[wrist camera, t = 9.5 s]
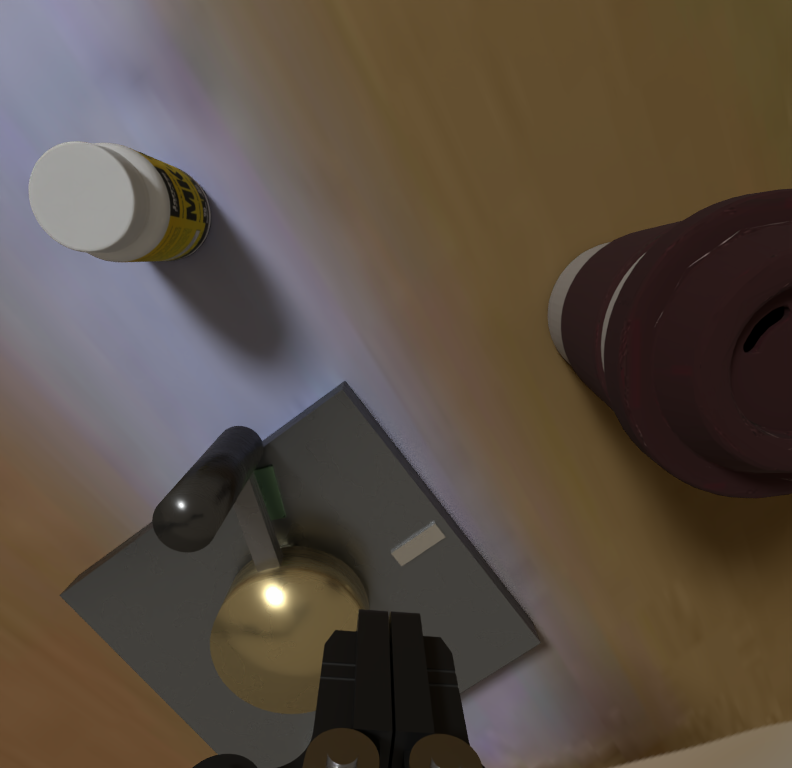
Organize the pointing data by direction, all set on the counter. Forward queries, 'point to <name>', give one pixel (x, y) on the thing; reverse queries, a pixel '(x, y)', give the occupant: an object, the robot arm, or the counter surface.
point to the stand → (315, 528)
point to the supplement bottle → (118, 203)
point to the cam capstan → (261, 581)
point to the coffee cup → (692, 341)
